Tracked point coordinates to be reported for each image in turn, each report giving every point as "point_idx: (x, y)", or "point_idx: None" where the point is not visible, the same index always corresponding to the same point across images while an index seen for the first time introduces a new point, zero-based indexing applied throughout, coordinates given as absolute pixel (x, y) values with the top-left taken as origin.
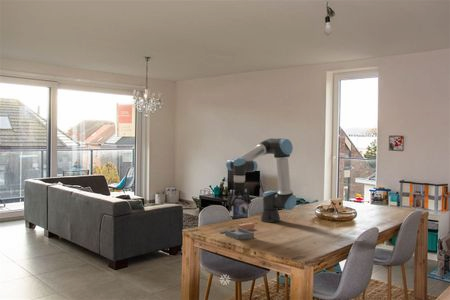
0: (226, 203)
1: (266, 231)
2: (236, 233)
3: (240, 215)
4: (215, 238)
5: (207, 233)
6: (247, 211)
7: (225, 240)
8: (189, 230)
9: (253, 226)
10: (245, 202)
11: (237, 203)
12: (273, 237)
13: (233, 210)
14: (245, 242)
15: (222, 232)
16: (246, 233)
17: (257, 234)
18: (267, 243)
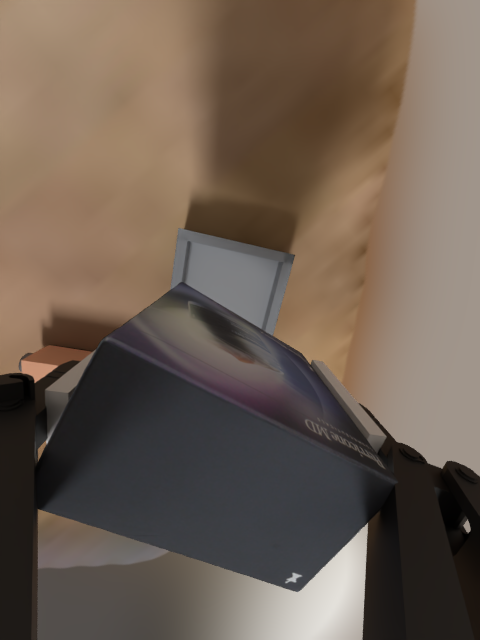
0: (456, 529)
1: (12, 262)
2: None
3: (250, 324)
4: (333, 356)
5: None
6: (170, 294)
7: (334, 300)
8: None
9: (39, 351)
10: (160, 379)
11: (331, 440)
12: (83, 124)
13: (330, 392)
14: (303, 193)
15: None
16: (234, 245)
17: (115, 256)
18: (233, 56)
